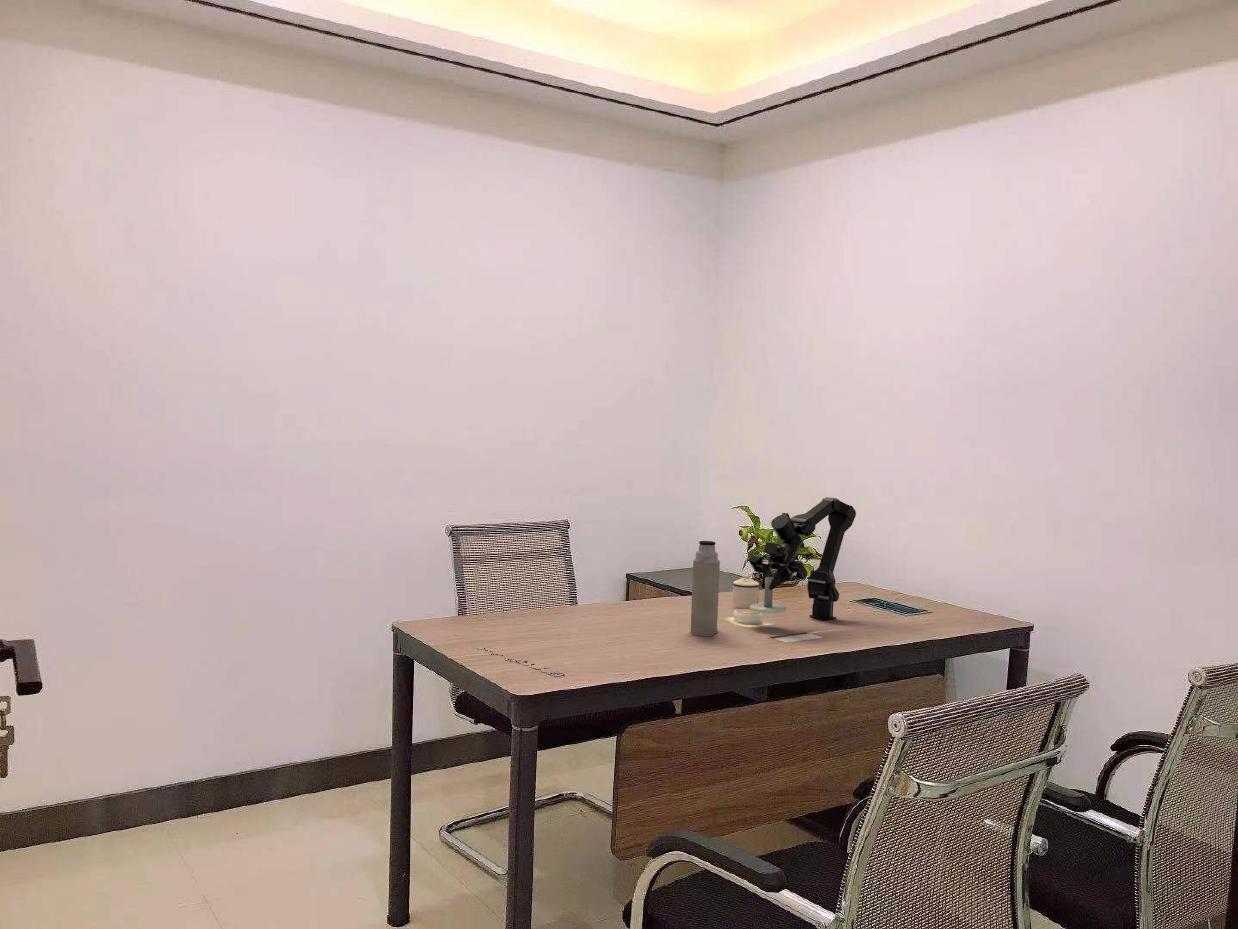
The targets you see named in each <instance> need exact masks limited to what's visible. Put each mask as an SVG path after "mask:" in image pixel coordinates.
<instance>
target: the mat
mask: <svg viewBox="0 0 1238 929" xmlns="http://www.w3.org/2000/svg"><path fill="white" fill-rule="evenodd" d="M768 638H770V639H773V640H777V641H780V642H783V643H793V642H799V641H808V640H815V639H821V638H823V637H822V636H820V635H816V634H812V633H808V632H799V633H792V634H791V633H790V634H783V635H782V634H781V635H775V636H769V637H768Z"/></svg>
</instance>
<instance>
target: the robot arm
mask: <svg viewBox="0 0 1238 929" xmlns="http://www.w3.org/2000/svg"><path fill="white" fill-rule="evenodd" d="M856 517H857V511H856V509H855V508H854V506H852V505H851V504H847V503H845V502H843V501H841V500H839V499H838V498H836V497H823V498H822V499H821V501H820V502H819V503H817V504H815V506H813V507H812V508H811V509H810V510H807V512H805V513H801V514H800V513H799V514H796V515H793V516H792V517H790V514H789V513H788V512H782V513H781V514H780V515H777V516H776V517H774V518H773V519H772V520H771V522H770V525H771V527H772V529H773V531H774V533H775V535H776V536H777V538H778V539H779V540H781V542H780V544H779V543H774V542H767V541H766V543H765V544H764V547H763V548H764V549H763V553H764V554H767V555H768V556H767V558H768V559H766V558H765V557H764V556H763V555H756V554H753V555H751V557H750V558H749V559H748V562H749V564H750V565H751V567H752V569H753V570H754V572H756V573H759V574H762V578H761V579H762V580H761V589H763V590H765V577H772V578H773V580H772V582H771V584H770V587H769V589H770V590H772V589H773V590H774V589H775V588H777V587H778V586H780V585H782V584H784V583H786V582H788V581H791V580H793V577H792V576H793V575H794V574H795V573H796V574H795V577H796V579H797V580H800V581H801V580H802V581H805V580H806V579H807V576H808V571H807V569H806V567H805V565H804V564H803V562H802V561H796V560H797V558H796V554H797V553H798V552H799V549H805V548H806V546H805V543H804V539H803V538H802V537H810V536H811V535H812V534H813V533H814V532H815V531H816V528H817V527H816V525H817V524H819V523H820V522H821V521H823V520H825V518H827V521H828V523H829V530H828V535H827V537H826V541H825V544H824V549H823V552H822V555H821V559H820V562H819V565H818V568H816V569H815V570H814V569H812V570H811V571H810V574H809V578H808V580H807V585H806V587H807V594H808V599H813V600H812V601H813V602H812V610H811V612H812V613H811V614H809V618H813V619H818V620H820V619H821V621H827V619H828V620H835V619H837V616H834V602H835V603H837V602H838V601H839V598H840V593H839V590H837V588H836V578H835V573H834V570H835V567H836V564H837V560H838V557H839V553H840V550H841V546H842V543H843V539H844V537H845V533H846V532H847V531H848V530H849V529H850V528H851V527H852V526H853V523H854V521H855V519H856ZM801 536H802V537H801ZM774 570H775V571H776V574H775V575H774V573H773V571H774Z"/></svg>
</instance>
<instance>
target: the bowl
mask: <svg viewBox="0 0 1238 929" xmlns="http://www.w3.org/2000/svg"><path fill="white" fill-rule="evenodd" d="M733 617H734V621H735V622H737V623H742V624H760V623H762V619H763V612H757V611H753V610H751V609H743V608H738V609H734V610H733Z"/></svg>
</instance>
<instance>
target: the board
mask: <svg viewBox="0 0 1238 929" xmlns="http://www.w3.org/2000/svg"><path fill="white" fill-rule="evenodd" d="M718 620H719V621H722V622H726V623H728V624H732V625H735V626H738V627H742V628H745V629H747V628H755V627H756V628H757V627H762V626H764V627H765V626H771V625H772V626H773V625H780V622H779V623H778V622H776V621H772V620H768V619H765V618H762V623H760V624H742V623H737V622H735V621H734V616H732V617H724V618H723V617H722V618H718V619H717V621H718Z"/></svg>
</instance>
